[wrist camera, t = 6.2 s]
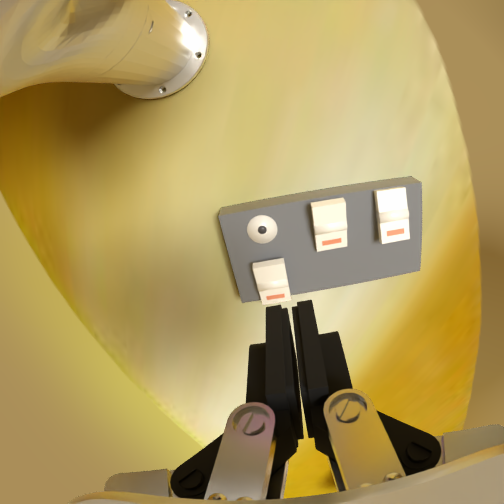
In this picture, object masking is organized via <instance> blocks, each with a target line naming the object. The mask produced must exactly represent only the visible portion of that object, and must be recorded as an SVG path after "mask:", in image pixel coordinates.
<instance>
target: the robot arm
mask: <svg viewBox="0 0 504 504" xmlns="http://www.w3.org/2000/svg"><path fill="white" fill-rule="evenodd" d="M189 14H192V15H191V16H190V17H188V15H189ZM208 51H209V34H208V30H207V27H206V24H205V22H204V21H203V19H202V18H201V16H200V15H199V14H198V13H197V12H196V11H195V10H194V9H192V8H191V7H190V6H188V5H186V4H184V3H182V2H179V1H175V0H0V97H3V96H5V95H7V94H10V93H12V92H15V91H17V90H20V89H22V88H25V87H28V86H32V85H36V84H42V83H50V82H93V83H113V84H114V85H115V86H116V87H117V88H118V89H119V90H121V91H122V92H124V93H125V94H128V95H130V96H132V97H136V98H141V99H154V98H161V97H165V96H169V95H171V94H173V93H175V92H178V91H179V90H181V89H182V88H184V87H185V86H187V85H188V84H189V83H190V82H191V81H192V80H193V79H194V78H195V77H196V76H197V74H198V73H199V72H200V70H201V69H202V67H203V65H204V63H205V61H206V58H207V54H208ZM200 54H201V55H202V57H201V58H198V55H200ZM164 88H166V91H165V92H163V89H164ZM292 314H293V323H294V332H295V342H296V351H297V359H296V353H295V347H294V342H293V336H292V331H291V325H290V320H289V314H288V309H287V308H283V309H282V307H281V305H277V306H270V307H266V343H261V344H253V345H250V347H249V361H248V377H247V393H246V404H243V405H240V406H239V407H237V408H236V409H234V411H233V412H232V413H231V414H230V416H229V418H228V420H227V424H226V427H225V430H224V433H223V434H222V435H220V436H219V437H218V438H217V439H215V440H214V441H213V442H211V443H210V444H209V445H207V446H206V447H205V448H203V449H202V450H201V451H199V452H198V453H197V454H196V455H194V456H193V457H191V458H190V459H189V460H187V461H186V462H184V463H183V464H182V465H180V466H179V467H178V468H177V469H176V470H171V471H169V470H167V469H161V470H152V471H143V472H130V473H119V474H115V475H113V476H111V477H110V478H109V479H108V481H107V482H106V484H105V488H104V491H103V492H94V493H89V494H85V495H82V496H78V497H76V498H75V499H73V500H71V501H70V502H69V503H68V504H504V427H503V426H501V425H489V426H484V427H479V428H473V429H467V430H461V431H455V432H448V433H443V435H442V436H435V437H434V436H432V435H431V434H429V433H426V432H424V431H421V430H419V429H417V428H414V427H412V426H410V425H408V424H405V423H403V422H401V421H398V420H396V419H394V418H392V417H390V416H387V415H385V414H383V413H381V412H379V411H377V410H376V409H375V407H374V405H373V403H372V401H371V399H370V398H369V396H368V395H367V394H365V393H364V392H362V391H360V390H357V389H353V388H352V384H351V379H350V375H349V371H348V367H347V363H346V359H345V355H344V352H343V348H342V344H341V340H340V336H339V333H338V331H336V332H331V333H325V334H318V329H317V324H316V319H315V314H314V309H313V304H312V300H307V301H301V302H297V306H295V307H292ZM297 361H298V366H297ZM298 371H299V377H298ZM299 382H300V387H299ZM300 390H301V397H302V403H303V408H304V414H305V420H306V426H307V432H308V438H313V437H314V439H315V447H316V449H317V450H318V451H320V452H322V453H323V454H325V455H327V459H328V463H329V466H330V469H331V472H332V476H333V479H334V482H335V486H336V489H337V492H336V493H329V494H323V495H315V496H307V497H298V498H287V499H283V495H284V489H285V483H286V477H287V471H288V464H289V461H288V459H289V458H290V457H291V456H292V455H294V454H295V453H296V452H297V449H296V448H297V447H298V439H304V435H303V423H302V410H301V399H300Z"/></svg>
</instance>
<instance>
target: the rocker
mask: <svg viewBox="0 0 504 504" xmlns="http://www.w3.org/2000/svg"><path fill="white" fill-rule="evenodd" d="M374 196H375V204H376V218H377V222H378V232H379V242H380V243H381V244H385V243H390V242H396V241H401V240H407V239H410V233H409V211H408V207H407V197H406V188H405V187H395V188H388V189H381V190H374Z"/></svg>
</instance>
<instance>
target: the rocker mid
mask: <svg viewBox="0 0 504 504" xmlns="http://www.w3.org/2000/svg"><path fill="white" fill-rule="evenodd" d="M311 211H312V219H313V228H314V236H315V245H316V249H317V252H318V251H324V250H330V249H335V248H341V247H347V219H346V202H345V200H344V198H337V199H330V200H324V201H318V202H312V203H311Z"/></svg>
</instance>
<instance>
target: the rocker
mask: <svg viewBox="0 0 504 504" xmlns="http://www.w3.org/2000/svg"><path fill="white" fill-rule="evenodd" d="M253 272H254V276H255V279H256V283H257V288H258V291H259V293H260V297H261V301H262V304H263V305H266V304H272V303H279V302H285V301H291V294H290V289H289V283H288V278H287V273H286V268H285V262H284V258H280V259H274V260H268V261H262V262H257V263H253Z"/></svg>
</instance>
